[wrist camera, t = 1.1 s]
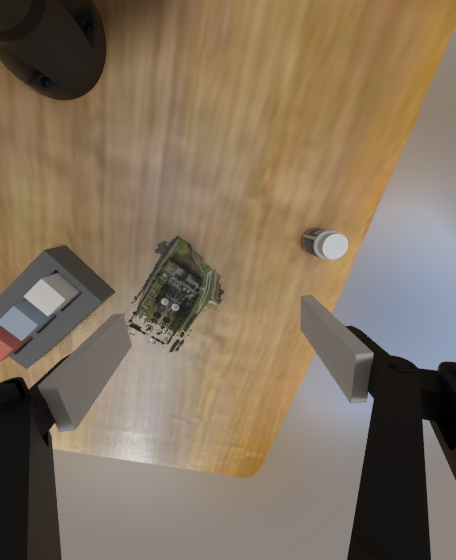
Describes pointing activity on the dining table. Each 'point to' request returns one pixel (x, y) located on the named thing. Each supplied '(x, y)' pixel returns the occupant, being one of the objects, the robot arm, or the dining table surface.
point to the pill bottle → (324, 243)
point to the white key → (52, 293)
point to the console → (66, 317)
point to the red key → (9, 343)
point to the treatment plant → (177, 290)
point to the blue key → (24, 320)
